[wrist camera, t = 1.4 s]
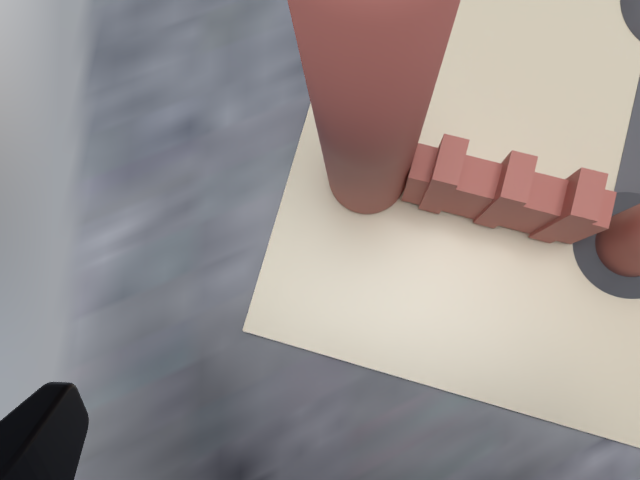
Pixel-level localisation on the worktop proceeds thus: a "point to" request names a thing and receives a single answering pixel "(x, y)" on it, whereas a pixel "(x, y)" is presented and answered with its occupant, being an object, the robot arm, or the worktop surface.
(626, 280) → the card
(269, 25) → the worktop surface
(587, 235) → the pink rounded part
